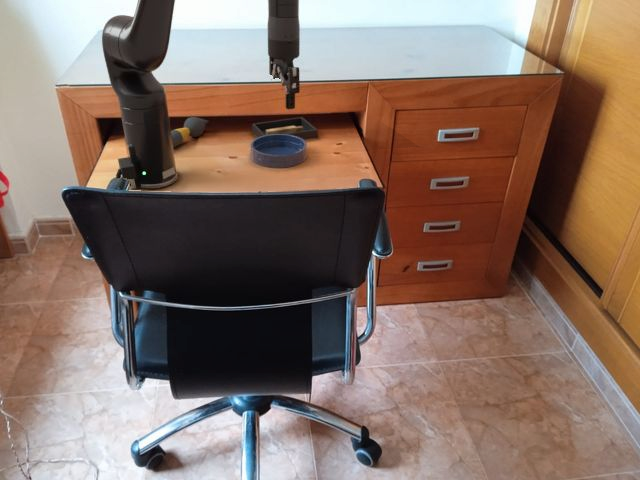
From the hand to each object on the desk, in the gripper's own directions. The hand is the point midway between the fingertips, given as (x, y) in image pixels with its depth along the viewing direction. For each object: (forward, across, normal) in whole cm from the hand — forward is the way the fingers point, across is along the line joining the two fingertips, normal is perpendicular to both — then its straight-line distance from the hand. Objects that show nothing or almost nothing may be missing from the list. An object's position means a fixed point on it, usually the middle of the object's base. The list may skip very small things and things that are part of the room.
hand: (283, 103), depth 135 cm
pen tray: (+9, 0, 0) cm, 9 cm away
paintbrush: (+9, -5, -25) cm, 27 cm away
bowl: (+9, +12, -6) cm, 16 cm away
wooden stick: (+8, 0, 0) cm, 8 cm away
